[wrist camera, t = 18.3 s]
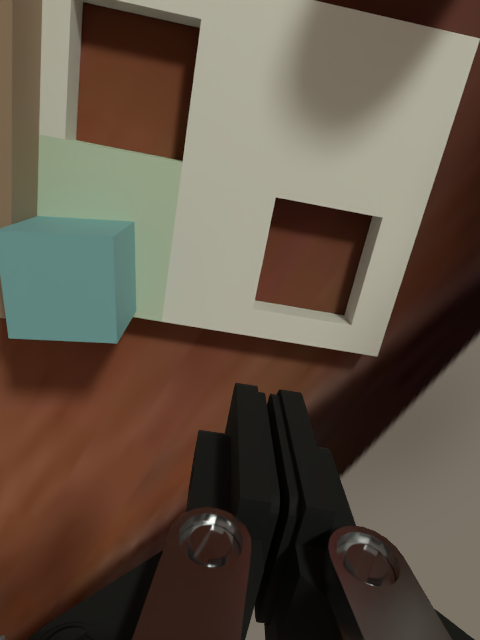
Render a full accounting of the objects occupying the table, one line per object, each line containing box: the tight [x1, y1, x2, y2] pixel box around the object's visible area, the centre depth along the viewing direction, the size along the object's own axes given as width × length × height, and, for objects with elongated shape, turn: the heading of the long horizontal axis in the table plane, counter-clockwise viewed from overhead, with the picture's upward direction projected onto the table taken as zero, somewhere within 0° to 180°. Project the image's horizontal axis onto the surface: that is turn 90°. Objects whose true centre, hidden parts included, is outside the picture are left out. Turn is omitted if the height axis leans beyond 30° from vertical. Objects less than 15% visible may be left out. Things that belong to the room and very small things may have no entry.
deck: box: [0, 0, 480, 356], centre depth 27 cm, size 25×20×6 cm
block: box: [0, 216, 136, 343], centre depth 26 cm, size 6×6×6 cm
